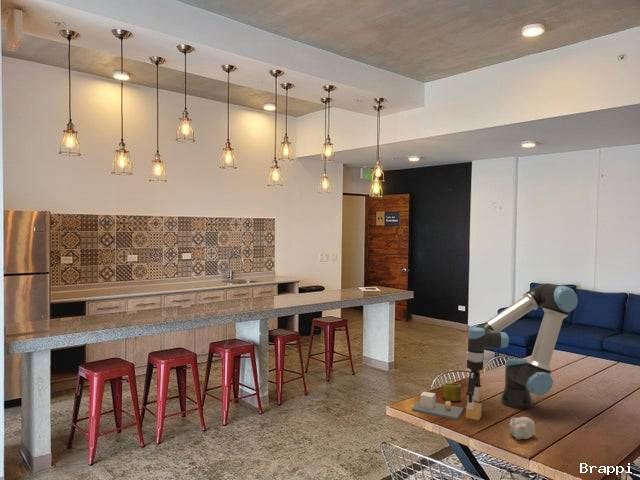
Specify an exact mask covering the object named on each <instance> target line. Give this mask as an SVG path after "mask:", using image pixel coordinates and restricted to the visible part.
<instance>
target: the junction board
mask: <svg viewBox="0 0 640 480" xmlns="http://www.w3.org/2000/svg"><path fill="white" fill-rule="evenodd" d="M436 395H437V394H436V393H435V392H429V391H423V392H422V393H421V394H420V396H419V397H420V398H419V400H418V401H417V402H416V403H415V404H414V405H413V406H412V408H411V411H412V412H416V413H421V414H425V415H431V416H436V417H441V418H445V419H450V420H455V421H458V419H459V418H460V416H461V415H462V413H463V412H464V407H462V406H461V407H460V406H455V405H451V404H452V401H447V400H445V403H440V402H436V398H437V397H436Z"/></svg>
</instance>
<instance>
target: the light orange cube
mask: <svg viewBox="0 0 640 480" xmlns="http://www.w3.org/2000/svg"><path fill="white" fill-rule="evenodd" d="M482 408H483V407H482V403H480V402H475V401H474V407H473V410H472V409H467V404H466V406H465V418H466V419H469V420H470V419H471V420H474V421H475V420H476V421H480V419H481V417H482Z"/></svg>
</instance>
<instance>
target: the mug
mask: <svg viewBox="0 0 640 480" xmlns="http://www.w3.org/2000/svg"><path fill="white" fill-rule="evenodd" d="M442 392H443V397H444V400H445V401H450V402H460V401H462V385H461V384H460V383H458V382H452V381H447V382H444V383H443V385H442Z"/></svg>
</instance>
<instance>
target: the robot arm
mask: <svg viewBox="0 0 640 480" xmlns="http://www.w3.org/2000/svg"><path fill="white" fill-rule="evenodd" d="M577 305H578V295H577V294H576V292H575V290H574V289H572V288H570V287H569V286H566V285H559V284H555V283H554V284H553V283H549V282H548V283H542V284H538V285H537V286H535V287H533V288H531V289H530V290H528V291H526V292H525V293H524V294H523V296H522V297H521V298H519V299H518V300H517V301H515V302H514V303H512V304H511V305H509V306H508V307H506V308H505V309H504V310H502V311H500V312H499V313H497V314H496V315H494V316H492V317H491V318H490V319H488V320H486V321H485V322H484V323H482V324H476V325H473V326H472V327H469V328H468V331H467V332H468V333H467V352H465V354H466V355H467V357H466V358H467V360H466V368H467V369H469V370H470V371H469V373H468V375H469V376H468V382H467V384H468V385H467V390H466V393H465V394H466V395H467V404H466V405H467V409H472V410H473V407H474V402H475V401H477V402H479V399H480V388H481V387H482V385H481V374H480V373H481V372H480V371H483V369H484V360H485V359H484V358H485V349H504V348H506V349H507V347H508V346H509V343H510V337H509V336H508V333H506V332H503V331H502V330H504V329H506V328H507V327H508V326H510V325H511V324H513V323H515V322H516V321H518V320H519V319H521V318H522V317H523V316H525V315H527V314H528V313H530V312H531V311H533V310H535V311H536V310H538V309H539V308H542V311H543V312H544V313H543V317H542V320H541V324H540V327H539V330H538V333H537V337H536V340H535V343H534V347H533V350H532V353H531V355H530V356H531V357H530V359H528V358H527V359H525V358H508V359H506V361H505V367H504V368H505V371H504V372H505V374H504V379H505V380H504V388H503V391H502V393H501V396H500V403H501V404H503V405H505V406H506V407H510V408H514V409H520V410H521V409H522V410H523V409H524V410H525V409H530V408H533V405H534V404H533V398H532V395H531V394H533V395H536V396H543V395H545V394H547V393H549V392H550V391H551V389H552V388H553V384H554V381H553V377H552V376H551V373H552V369H551V366H550V364H551V361H552V357H553V354H554V351H555V347H556V344H557V341H558V338H559V334H560V332H561V331H560V330H561V327H562V324H563V321H564V319H565V318H567V317H568V316H569V313H570V312H572V311H573V310H575V309H576V308H577Z"/></svg>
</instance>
